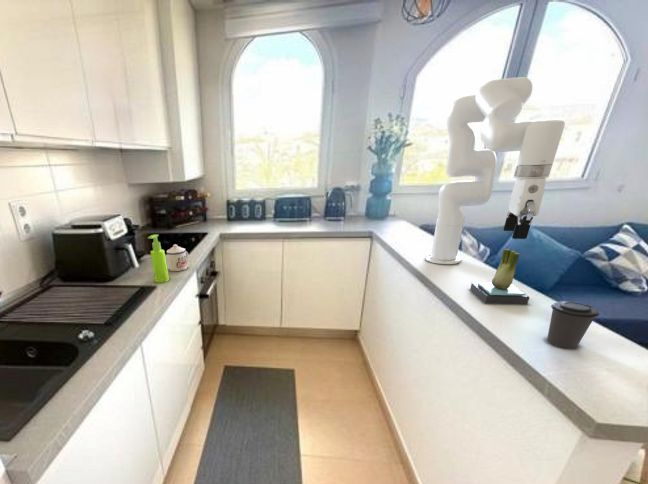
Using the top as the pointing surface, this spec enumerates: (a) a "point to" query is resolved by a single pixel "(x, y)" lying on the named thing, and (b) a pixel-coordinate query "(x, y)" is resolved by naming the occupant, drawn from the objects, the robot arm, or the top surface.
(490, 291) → the scale pan
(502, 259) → the fennel bulb
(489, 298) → the scale
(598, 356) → the top surface
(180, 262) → the teacup with lid
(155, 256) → the soap dispenser
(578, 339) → the coffee cup
